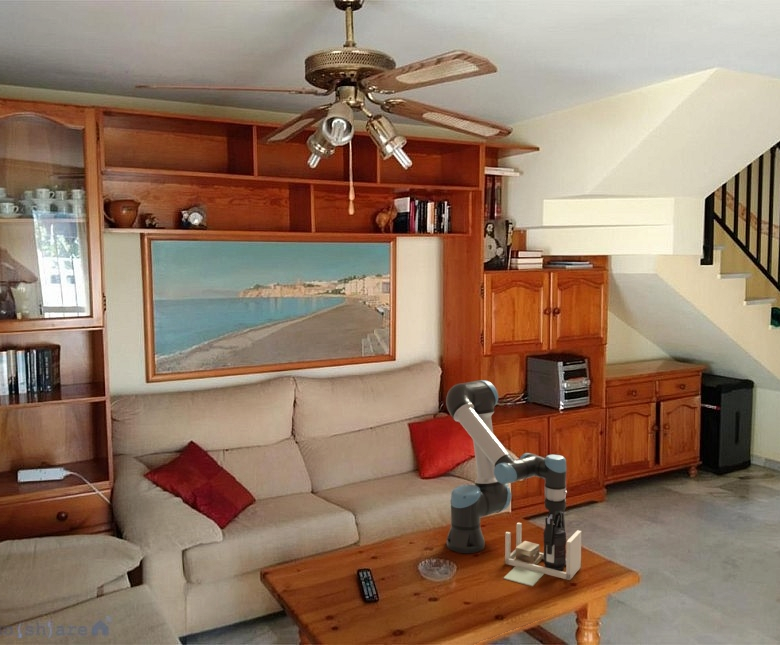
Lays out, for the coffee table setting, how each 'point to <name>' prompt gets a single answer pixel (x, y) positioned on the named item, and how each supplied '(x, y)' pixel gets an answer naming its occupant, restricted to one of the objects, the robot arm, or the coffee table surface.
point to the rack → (571, 555)
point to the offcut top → (527, 548)
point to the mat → (524, 576)
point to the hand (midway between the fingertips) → (554, 557)
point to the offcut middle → (528, 557)
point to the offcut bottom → (531, 562)
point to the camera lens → (557, 550)
